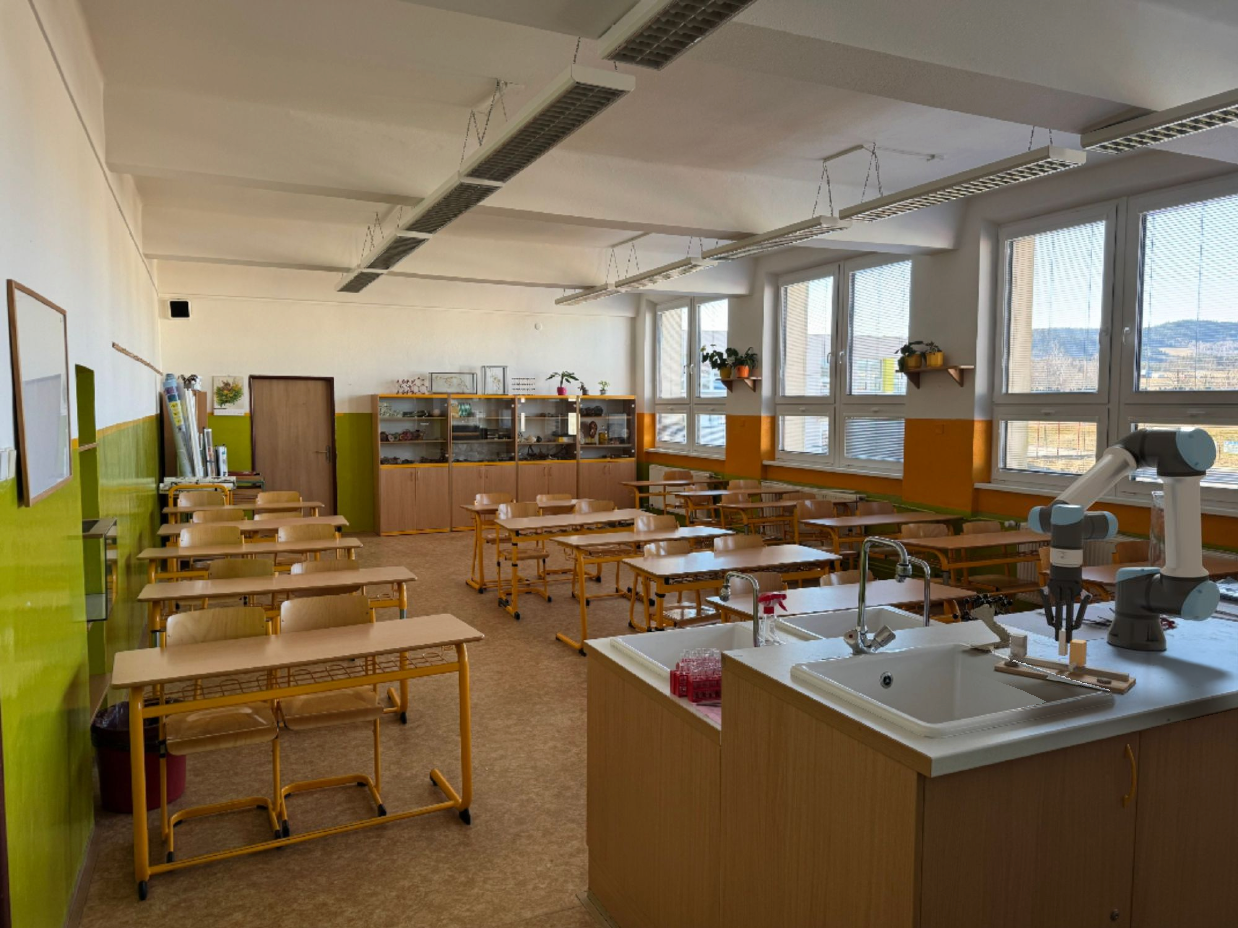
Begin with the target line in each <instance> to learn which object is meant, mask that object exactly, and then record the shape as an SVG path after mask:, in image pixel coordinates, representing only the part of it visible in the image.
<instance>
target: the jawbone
mask: <svg viewBox="0 0 1238 928" xmlns="http://www.w3.org/2000/svg"><path fill="white" fill-rule="evenodd" d="M995 611H996V610H995V606H994V605H991V607H990V605H989V604H988V603H987V604H985V603H984V604H982V605H981V606H980V607H976V608H974V609H971V610H970V616H971V617H972V618H975V619H979V620H980V621H981V622H983V623H984V625H985V626H986V627H987V628H988V629H989V630H990V632H991V633H993V634H994V635H996V637H998V638H999V641H993V642H989V643H983V644H970V645H969V647H971V648H972V647H975V648H974V649H979V650H985V651H987V650H988V651H991V650H992V651H994V650H995V648H994V647H1000V648H1005V647H1007V646H1011V635H1012V634H1011V632H1008V629H1005V627H1003V626H1001V625H1002V624H999V623H997V621H995ZM992 651H991V652H992Z"/></svg>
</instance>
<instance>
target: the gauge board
mask: <svg viewBox="0 0 1238 928" xmlns="http://www.w3.org/2000/svg"><path fill="white" fill-rule="evenodd" d="M1010 642H1011V645H1010V653H1009V654H1008V655H1007V658H1009V659H1010V661H1005V659H1004V660H1002V661H1000V662H999V663H996V664H995V665H994V671H999V672H1003V673H1008V674H1012V675H1013V674H1014V675H1020V676H1025V677H1030V678H1036V679H1039V680H1040V679H1041V680H1046V678H1047V677H1048V675H1045V674H1043V673H1040V672H1037V671H1034V670H1031V669H1028V668H1026V667H1022V666H1019V665H1018V663H1016V662H1012V661H1013V660H1016V661H1018V662H1021V663H1026V664H1027V665H1031V666H1032V667H1035V668H1040V669H1042V670H1045V671H1049V672H1050V673H1055V674H1056V675H1060V676H1065V677H1066V678H1070V679H1071V680H1076V681H1080V682H1082V683H1087V684H1092V685H1095V686H1099V687H1101V688H1105V689H1109V690H1110V691H1112V692H1111V693H1114V694H1121V695H1124V694H1126V693H1127V692H1128V691H1129V690H1130V689H1131V688H1133V686H1135V685H1136V683H1137V677H1130V673H1127V672H1124V671H1123V672H1122V671H1118V670H1111V669H1105V668H1099V667H1094V666H1088V665H1084V666H1083V667H1079V666H1076V667H1074V668H1073V672H1069V669H1068V665H1069V662H1065V661H1059V660H1053V659H1049V658H1048V659H1047V658H1041V657H1036V656H1031V655H1030V656H1029V655H1028V634H1026V633H1020V632H1014V633H1013V634H1011V638H1010ZM1046 681H1047V680H1046Z"/></svg>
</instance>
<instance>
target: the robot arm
mask: <svg viewBox="0 0 1238 928" xmlns="http://www.w3.org/2000/svg"><path fill="white" fill-rule="evenodd" d="M1216 459H1217V447H1216V443H1215V441H1214V439H1213V437H1212V435H1211V434H1209V432H1208V431H1207V430H1205V429H1202V428H1200V427H1191V426H1158V427H1157V426H1147V427H1141V428H1139V429H1136V430H1134V431H1131V432H1129V433H1127V434H1126V435H1124V436H1122V437H1120V438H1119V439H1117V440H1116V441H1115V442H1113V443H1112V444H1110V446H1108V447H1107V448H1106V449H1105V450H1104V451H1103V455H1102V457H1101V458H1100V459H1098V461H1096V462H1095V463H1094V464H1093V465H1092V466H1091V467H1090V468H1089V469H1088V470H1087V471H1085V472H1084V473H1083V474H1082V475H1081V476H1080V477H1078V479H1076V480H1075V481H1074V482H1073V483H1072V484H1071V485H1070V486H1068V487H1067V488H1066V489H1064V491H1062V492H1061V494H1059V495H1058V496H1057V497H1056V498H1055V499H1054V500H1053V501H1051V503H1049V504H1048V505H1047V506H1045V505H1041V506H1040V505H1039V506H1034V507H1033V508H1032V509H1030V510H1029V513H1028V516H1027V523H1028V526H1029V528H1030V529H1031V531H1033V532H1034V533H1038V534H1043V535H1049V536H1050V544H1049V545H1050V549H1049V561H1050V563H1051V564H1049V571H1048V572H1049V576H1048V577H1049V580H1048V582H1047V584H1046V586H1044V587H1040V588H1038V589H1037V592H1038V595H1039V596H1040V598H1041V602H1042V606H1043V609H1044V615H1045V621H1046V624H1047V626H1049V627H1051V628H1054V640H1055V642H1058V651H1057V652H1058V656H1062V657H1065V656H1067V655H1068V654H1069V653H1068V650H1069V644H1070V641H1072V640H1073V631H1077V630H1079V629H1080V628H1081V627H1082V624H1083V622H1084V618H1085V615H1086V611H1087V608H1088V605H1089V602H1090V601H1092V598H1093V597H1094V594H1093V593H1089V592H1088V591H1086V590H1085V587H1084V585H1083V567H1082V566H1081V565H1082V564H1083V560H1084V559H1083V558H1084V557H1083V556H1084V555H1083V554H1084V553H1083V551H1084V549H1083V548H1084V542H1085V541H1104V540H1109V539H1112V538H1114V536H1116V534H1117V533H1118V531H1119V522H1118V518H1117V517H1116V516H1115V515H1114V514H1113V513H1111V512H1109V511H1102V510H1097V511H1096V510H1095V511H1089V510H1088V509H1089V508H1090V507H1091V506H1092V505H1093V504H1094V503H1096V501H1098V500H1099V499H1100V498H1101V497H1102V496H1103V495H1104V494H1106V493H1107V492H1108V491H1109V490H1111V488H1112V487H1114V486H1115V485H1116V484H1117V483H1118V482H1119V481H1120V480H1121V479H1122V478H1124V477H1125V476H1130V475H1132V474H1133V473H1135V472H1136V471H1137V470H1140V469H1143V468H1144V469H1145V468H1151V469H1152V468H1153V469H1156V477H1157V478H1159V480H1161V481H1162V482H1163V483H1162V484H1163V513H1164V514H1163V515H1164V517H1163V518H1164V543H1165V545H1164V547H1165V550H1164V551H1165V565H1164V566H1163V567H1157V566H1136V567H1135V566H1133V567H1131V566H1130V567H1129V566H1128V567H1121V568H1119V569H1117V571H1116V574H1115V581H1114V584H1115V590H1114V595H1115V596H1114V617H1113V619H1112V622H1111V624H1110V627H1109V629H1108V630H1107V634H1106V635H1107V637H1106V641H1107V643H1109V644H1111V645H1113V646H1116V647H1120V648H1125V649H1130V650H1131V649H1132V650H1139V651H1163V650H1166V649H1167V638H1166V634H1165V632H1164V629H1163V626H1162V623H1161V615H1163V616H1166V617H1171V618H1176V619H1181V620H1183V621H1193V622H1203V621H1206V620H1208V619H1209V618H1210V617H1211V616H1213V615H1214V613H1215V612H1216V610H1217V608H1218V606H1219V603H1220V599H1221V591H1220V588H1219V586H1218V585H1217V583H1216V582H1213V580H1210V576H1209V575H1210V572H1209V571H1208V570H1207V569H1206V568H1205V567H1204V566H1203V549H1202V515H1201V514H1202V511H1201V506H1202V505H1201V481H1202V480H1203V479H1204V478H1206V476H1207V470H1210V469H1211V468H1212V467H1213V466H1214V464H1215V461H1216ZM1050 594H1051V595H1052V596H1053V597H1054V603H1055V609H1054V611H1053V607H1052V603H1051V602H1052V601H1051V599H1050V596H1049V595H1050ZM1080 595H1081V596H1080ZM1079 596H1080V599H1081V601H1080V604H1079V607H1078V609H1077V614H1076V615H1075V618H1074V613H1075V612H1074V611H1075V610H1074V609H1075V601H1076V600H1077V598H1078V597H1079ZM1064 601H1065V626H1064V625H1063V619H1064V618H1063V617H1064V616H1063V615H1064ZM1074 619H1075V620H1074ZM1063 627H1065V628H1063Z"/></svg>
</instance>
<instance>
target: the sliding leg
mask: <svg viewBox="0 0 1238 928" xmlns="http://www.w3.org/2000/svg"><path fill="white" fill-rule="evenodd" d="M1087 645H1088V640H1085V639H1084V640H1083V639H1076V638H1074V639H1073V638H1072V641H1070V643H1069V653H1068V654H1069V656H1068V657H1069V660H1068V663H1069V665H1068V669H1069V672H1073V668H1074V667H1076V666H1079V667H1083V666H1086V665H1087V648H1088V647H1087Z"/></svg>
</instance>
